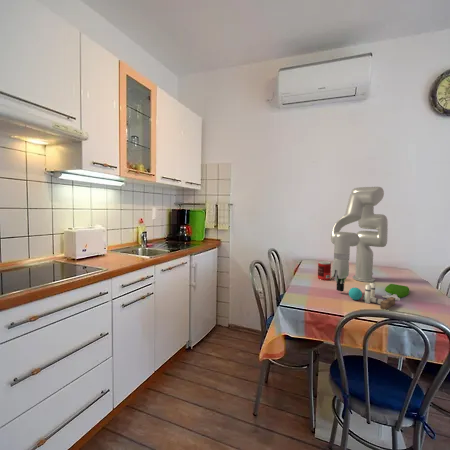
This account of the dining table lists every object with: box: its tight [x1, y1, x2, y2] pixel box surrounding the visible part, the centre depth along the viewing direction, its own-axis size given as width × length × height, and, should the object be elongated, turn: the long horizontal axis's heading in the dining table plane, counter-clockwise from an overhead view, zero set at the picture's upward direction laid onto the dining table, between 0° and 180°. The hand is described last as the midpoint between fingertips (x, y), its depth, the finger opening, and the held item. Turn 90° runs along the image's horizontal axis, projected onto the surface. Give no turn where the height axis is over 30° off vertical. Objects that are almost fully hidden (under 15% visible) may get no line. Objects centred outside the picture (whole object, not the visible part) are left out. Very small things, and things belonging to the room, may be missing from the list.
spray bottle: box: [382, 283, 411, 302], centre depth 139 cm, size 3×11×24 cm
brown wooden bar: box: [380, 297, 396, 310], centre depth 120 cm, size 12×2×3 cm, turn 129°
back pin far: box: [369, 282, 376, 298], centre depth 128 cm, size 2×2×8 cm
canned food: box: [317, 260, 332, 281], centre depth 167 cm, size 8×8×11 cm
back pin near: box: [364, 284, 371, 304], centre depth 125 cm, size 2×2×8 cm
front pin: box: [362, 294, 385, 305], centre depth 125 cm, size 2×2×8 cm
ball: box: [348, 287, 363, 301], centre depth 129 cm, size 6×6×6 cm
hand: (340, 290), depth 138 cm, fingers closed
